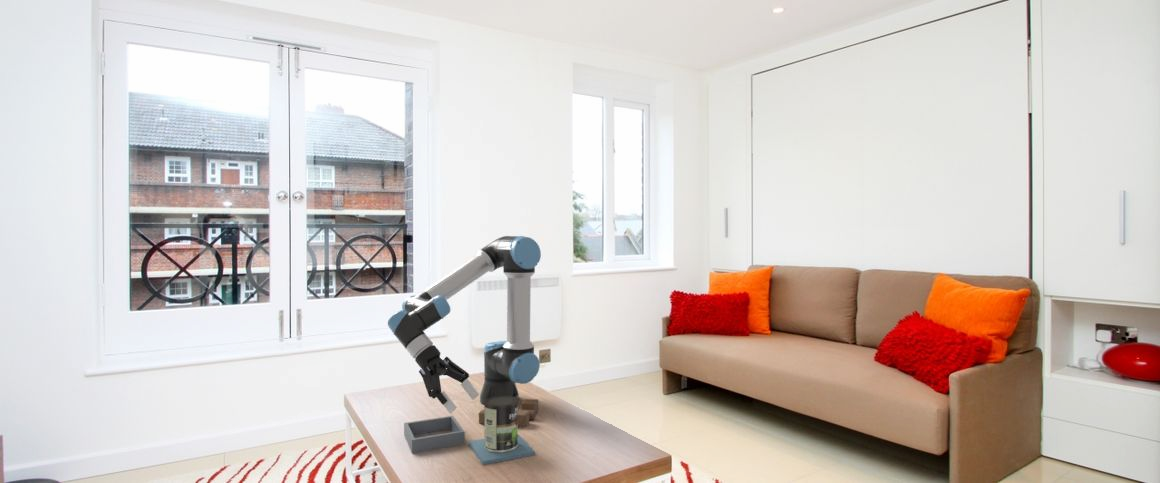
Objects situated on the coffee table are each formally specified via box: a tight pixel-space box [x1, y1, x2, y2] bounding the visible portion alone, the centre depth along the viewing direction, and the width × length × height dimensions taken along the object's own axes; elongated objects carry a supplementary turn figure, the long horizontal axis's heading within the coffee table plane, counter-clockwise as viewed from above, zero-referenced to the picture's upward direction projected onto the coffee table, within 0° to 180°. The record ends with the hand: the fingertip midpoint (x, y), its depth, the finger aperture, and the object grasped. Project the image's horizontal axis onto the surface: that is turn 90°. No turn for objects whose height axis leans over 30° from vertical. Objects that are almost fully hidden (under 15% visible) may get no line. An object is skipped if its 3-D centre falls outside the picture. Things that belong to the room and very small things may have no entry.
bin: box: [403, 415, 466, 454], centre depth 174 cm, size 16×16×4 cm
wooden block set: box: [478, 398, 539, 428], centre depth 194 cm, size 17×6×18 cm
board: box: [468, 434, 536, 466], centre depth 166 cm, size 16×16×1 cm
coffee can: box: [483, 396, 519, 453], centre depth 166 cm, size 10×10×14 cm
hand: (465, 403), depth 169 cm, fingers open, 13 cm apart
